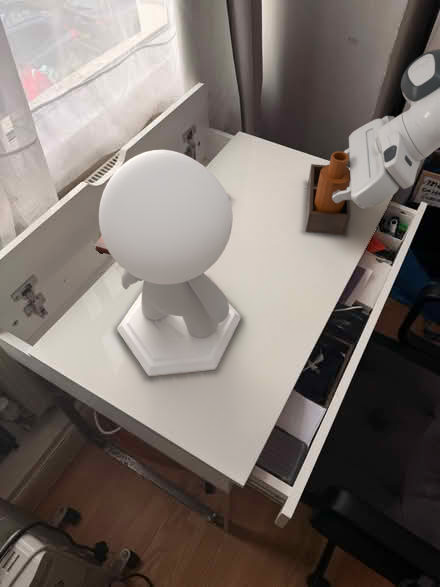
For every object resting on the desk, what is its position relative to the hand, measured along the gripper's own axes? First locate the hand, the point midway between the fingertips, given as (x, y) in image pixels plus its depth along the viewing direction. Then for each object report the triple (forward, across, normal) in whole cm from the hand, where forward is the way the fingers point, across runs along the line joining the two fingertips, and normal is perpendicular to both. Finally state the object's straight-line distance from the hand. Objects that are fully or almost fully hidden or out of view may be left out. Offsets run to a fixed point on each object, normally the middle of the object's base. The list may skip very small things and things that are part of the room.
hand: (333, 182), depth 87 cm
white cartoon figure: (+26, +31, -11) cm, 42 cm away
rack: (+7, -4, +8) cm, 11 cm away
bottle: (+7, 0, +7) cm, 10 cm away
